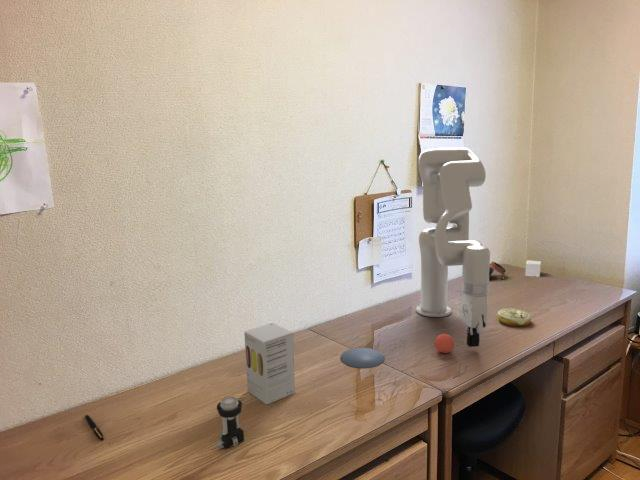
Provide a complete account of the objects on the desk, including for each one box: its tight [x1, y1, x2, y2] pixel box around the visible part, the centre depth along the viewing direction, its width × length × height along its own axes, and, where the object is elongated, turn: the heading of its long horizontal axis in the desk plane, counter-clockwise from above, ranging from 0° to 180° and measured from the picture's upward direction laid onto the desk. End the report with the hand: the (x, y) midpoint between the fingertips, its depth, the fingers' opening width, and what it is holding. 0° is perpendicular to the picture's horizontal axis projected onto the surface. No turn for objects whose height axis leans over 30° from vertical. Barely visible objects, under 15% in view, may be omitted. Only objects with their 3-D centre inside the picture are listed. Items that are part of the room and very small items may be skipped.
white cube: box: [524, 259, 542, 278], centre depth 223 cm, size 6×6×6 cm
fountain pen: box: [84, 413, 104, 441], centre depth 113 cm, size 14×1×2 cm, turn 40°
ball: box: [434, 333, 455, 354], centre depth 146 cm, size 6×6×6 cm
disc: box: [340, 347, 385, 369], centre depth 144 cm, size 13×13×1 cm
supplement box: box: [243, 322, 296, 405], centre depth 125 cm, size 10×9×17 cm
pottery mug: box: [489, 261, 507, 280], centre depth 219 cm, size 12×10×8 cm
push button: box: [214, 396, 245, 450], centre depth 104 cm, size 7×5×10 cm
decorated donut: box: [497, 308, 532, 327], centre depth 168 cm, size 10×11×4 cm
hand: (472, 345), depth 147 cm, fingers closed
